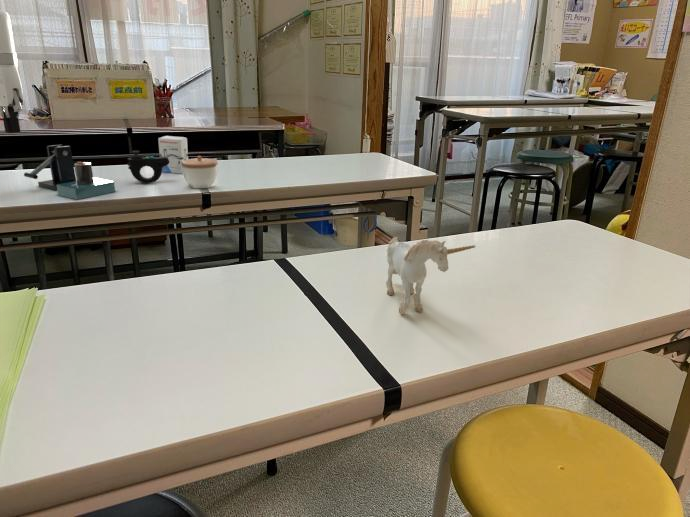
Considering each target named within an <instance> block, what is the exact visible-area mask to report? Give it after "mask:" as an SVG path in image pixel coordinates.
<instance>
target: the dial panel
mask: <svg viewBox="0 0 690 517" xmlns="http://www.w3.org/2000/svg"><path fill="white" fill-rule="evenodd" d="M93 178H94V183H92V184H85V185H81V184H77V180H76V181H73V182H68V183H63V184H57V191H56V192H57V195H58V196H61V197H64V198H67V199H68V198H69V199H73V200H77V201H78V200H84V199H88V198H92V197H97V196H102V195H107V194H110V193H115V192H116V186H115V181H113V180H109V179H104V178H99V177H93Z"/></svg>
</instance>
